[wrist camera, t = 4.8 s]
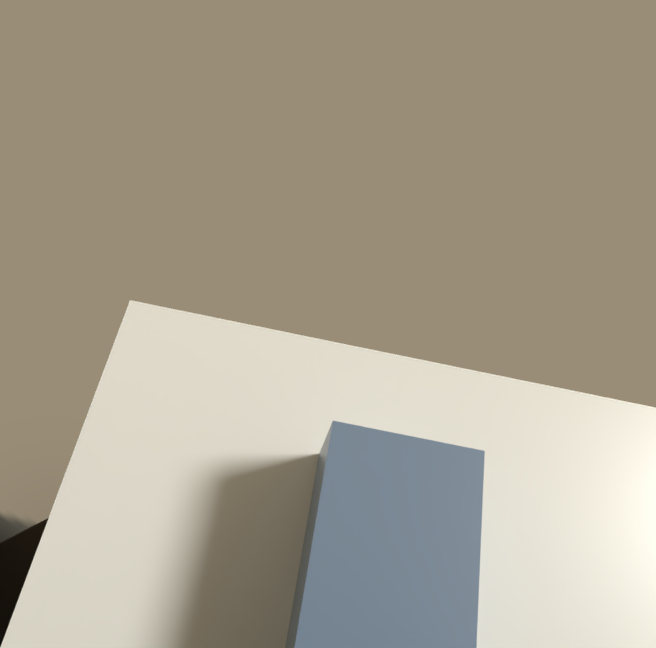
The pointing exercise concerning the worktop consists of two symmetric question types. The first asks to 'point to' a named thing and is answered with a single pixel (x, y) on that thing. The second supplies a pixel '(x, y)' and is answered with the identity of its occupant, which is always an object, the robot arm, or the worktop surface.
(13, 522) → the worktop surface
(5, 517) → the worktop surface
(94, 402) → the block
